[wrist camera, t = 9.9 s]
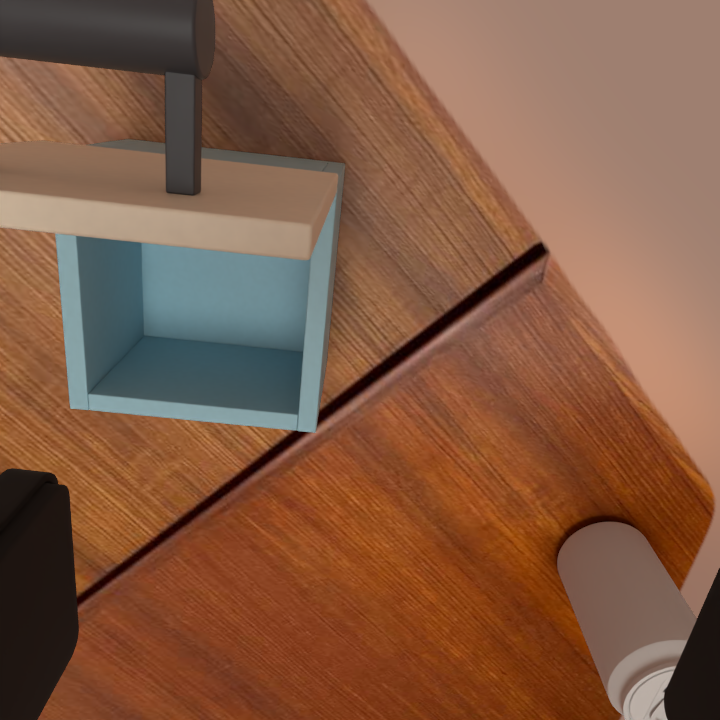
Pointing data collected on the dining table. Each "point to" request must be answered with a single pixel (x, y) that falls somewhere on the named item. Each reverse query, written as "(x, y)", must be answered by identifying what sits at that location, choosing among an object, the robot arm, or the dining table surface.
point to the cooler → (200, 321)
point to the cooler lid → (144, 169)
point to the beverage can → (626, 614)
